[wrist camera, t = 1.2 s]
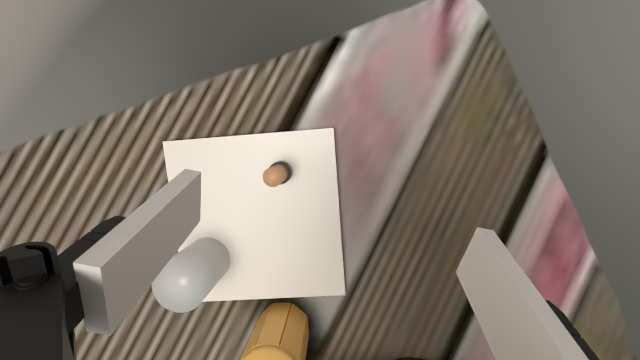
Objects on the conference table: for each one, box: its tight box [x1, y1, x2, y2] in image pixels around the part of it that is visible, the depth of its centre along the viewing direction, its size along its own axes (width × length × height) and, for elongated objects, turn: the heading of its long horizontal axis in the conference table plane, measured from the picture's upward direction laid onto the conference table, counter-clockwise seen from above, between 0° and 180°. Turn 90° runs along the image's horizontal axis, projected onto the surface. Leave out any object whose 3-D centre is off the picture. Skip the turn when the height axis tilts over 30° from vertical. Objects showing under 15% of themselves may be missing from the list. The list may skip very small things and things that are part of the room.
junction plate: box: [152, 128, 345, 313], centre depth 38 cm, size 22×22×10 cm
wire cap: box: [240, 302, 309, 360], centre depth 40 cm, size 7×7×10 cm
